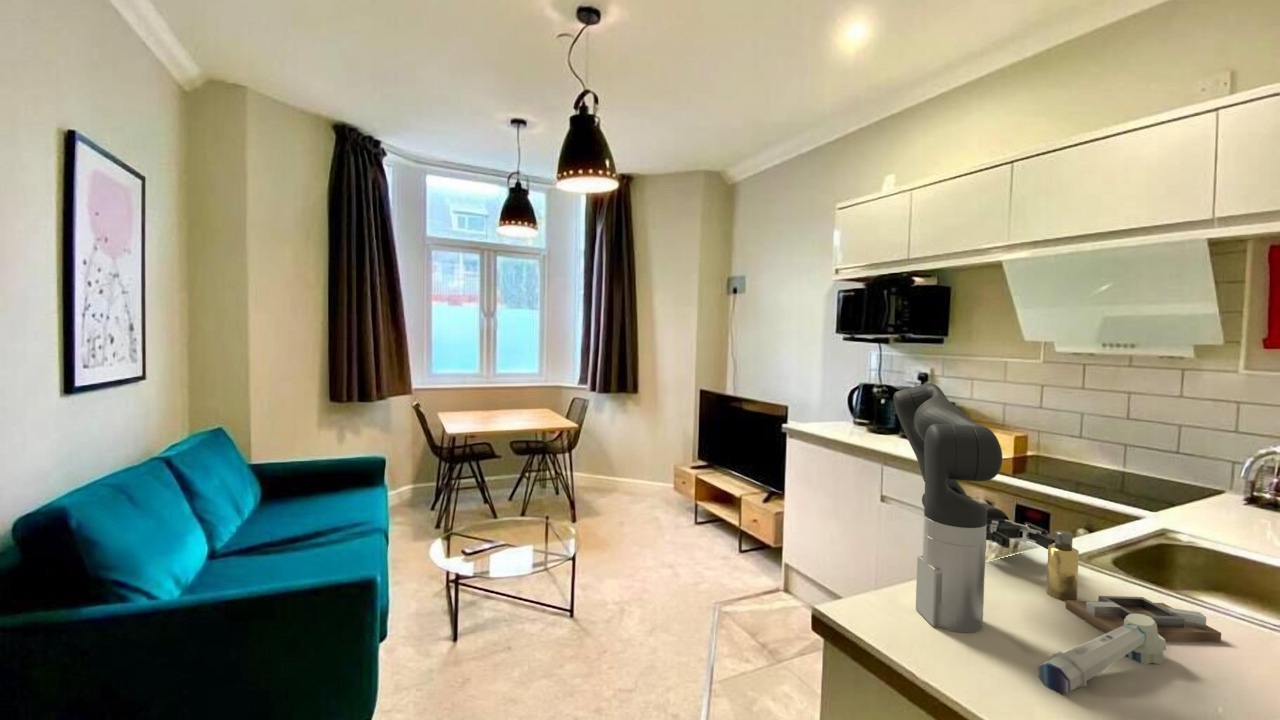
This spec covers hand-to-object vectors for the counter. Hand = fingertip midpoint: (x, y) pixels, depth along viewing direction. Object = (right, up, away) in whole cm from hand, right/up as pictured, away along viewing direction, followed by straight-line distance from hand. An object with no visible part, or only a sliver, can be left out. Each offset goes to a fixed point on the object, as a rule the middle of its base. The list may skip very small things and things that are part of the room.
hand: (1029, 544), depth 112 cm
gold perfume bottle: (0, -7, -9) cm, 11 cm away
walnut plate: (+5, -7, -19) cm, 21 cm away
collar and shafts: (+5, -6, -19) cm, 21 cm away
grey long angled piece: (-12, -8, -32) cm, 36 cm away
